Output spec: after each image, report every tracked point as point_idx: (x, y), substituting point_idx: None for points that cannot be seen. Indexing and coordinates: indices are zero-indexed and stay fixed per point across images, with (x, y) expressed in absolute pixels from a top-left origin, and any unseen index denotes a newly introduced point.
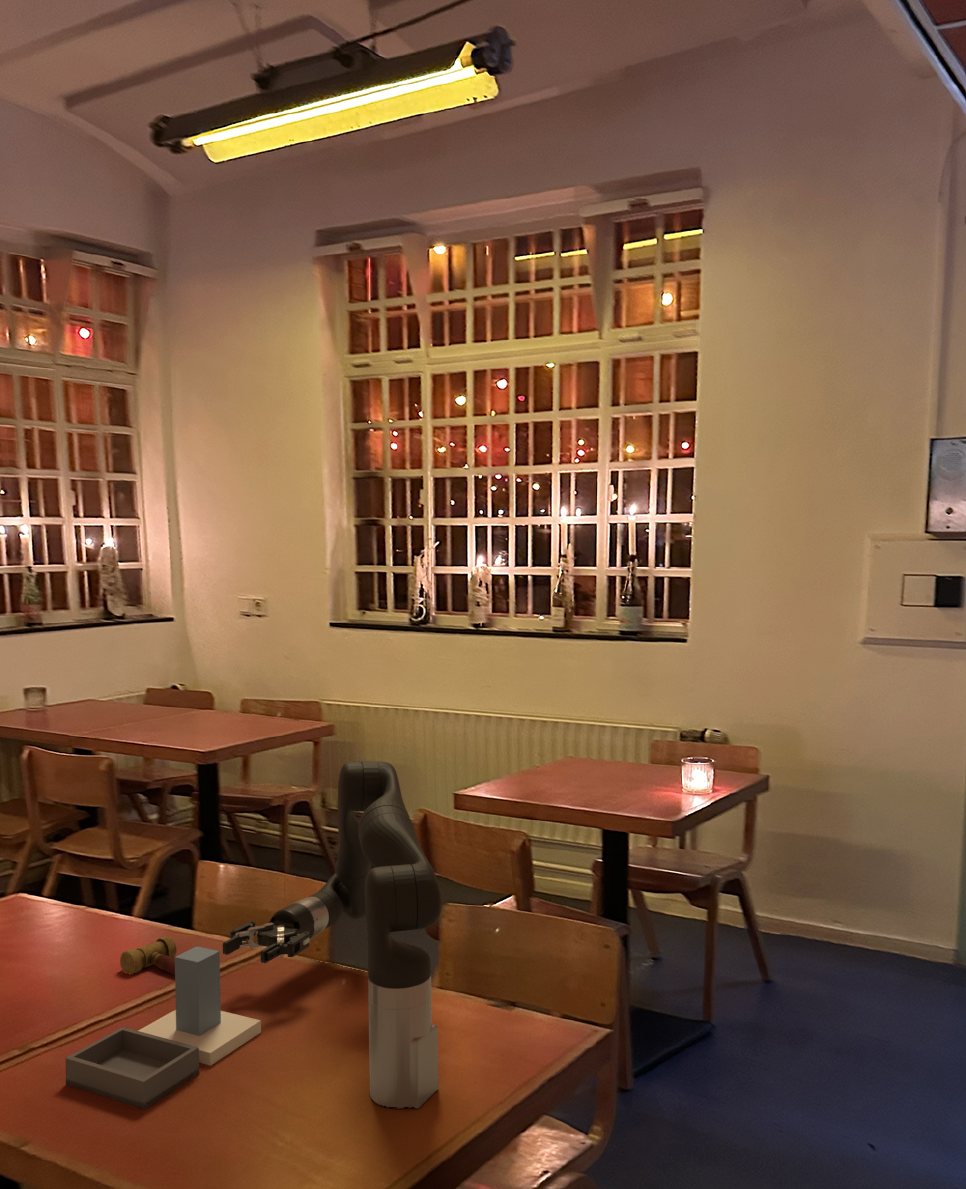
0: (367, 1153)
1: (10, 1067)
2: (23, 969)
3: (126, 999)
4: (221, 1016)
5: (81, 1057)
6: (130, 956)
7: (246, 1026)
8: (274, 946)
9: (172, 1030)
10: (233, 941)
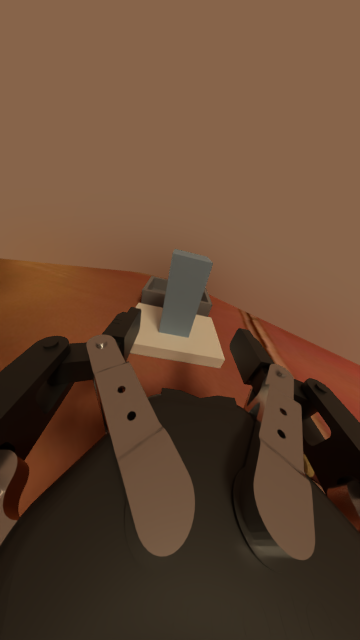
0: (4, 265)
1: (238, 308)
2: None
3: (300, 380)
4: (166, 341)
5: (203, 292)
6: None
7: None
8: (116, 328)
9: None
10: (247, 347)
